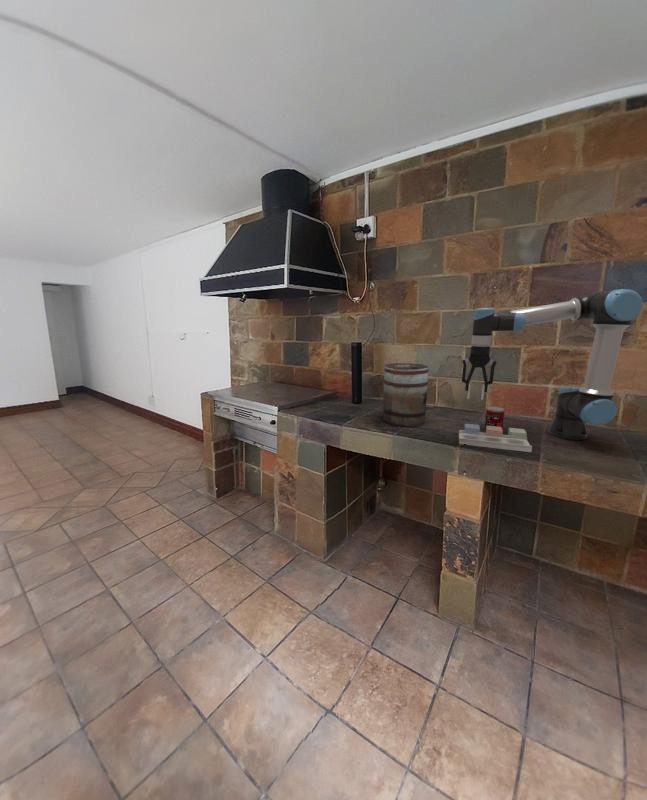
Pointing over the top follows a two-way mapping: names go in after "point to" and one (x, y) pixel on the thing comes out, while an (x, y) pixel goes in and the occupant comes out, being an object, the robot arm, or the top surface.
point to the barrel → (405, 394)
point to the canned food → (494, 417)
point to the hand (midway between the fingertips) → (475, 398)
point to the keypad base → (494, 441)
